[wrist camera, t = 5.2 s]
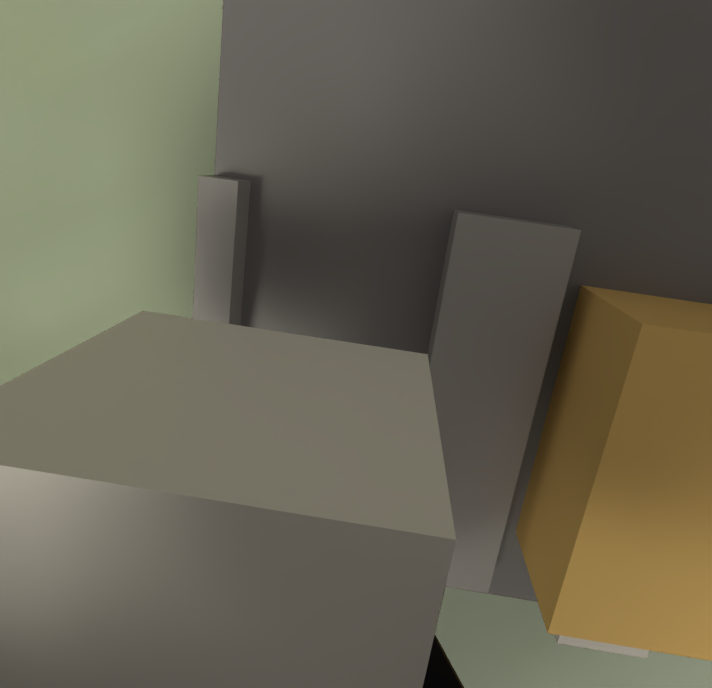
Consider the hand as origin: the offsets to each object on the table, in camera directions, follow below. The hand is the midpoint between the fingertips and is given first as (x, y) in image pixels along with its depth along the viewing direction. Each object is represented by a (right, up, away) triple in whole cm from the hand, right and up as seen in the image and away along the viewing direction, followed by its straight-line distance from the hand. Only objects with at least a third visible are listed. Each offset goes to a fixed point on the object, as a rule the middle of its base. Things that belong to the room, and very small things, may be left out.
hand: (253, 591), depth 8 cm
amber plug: (+9, +1, +8) cm, 12 cm away
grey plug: (0, 0, 0) cm, 0 cm away
